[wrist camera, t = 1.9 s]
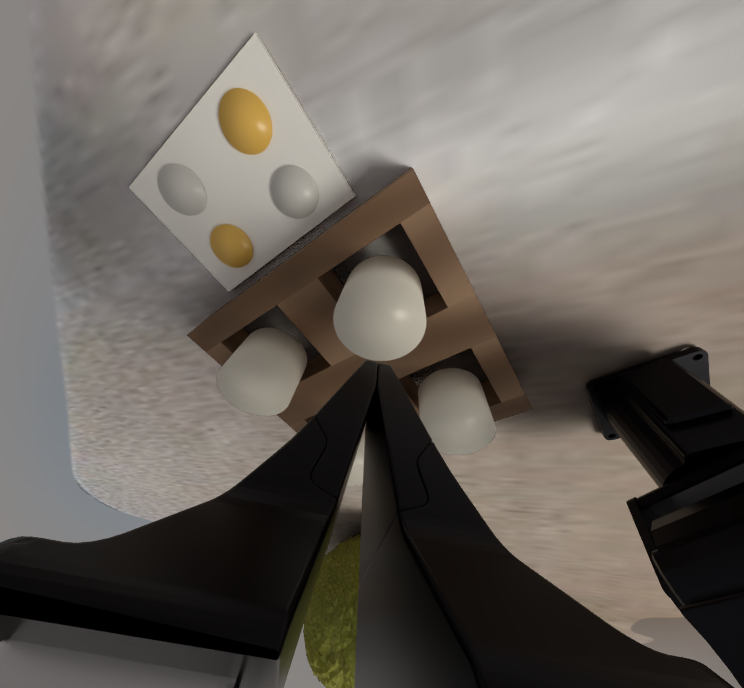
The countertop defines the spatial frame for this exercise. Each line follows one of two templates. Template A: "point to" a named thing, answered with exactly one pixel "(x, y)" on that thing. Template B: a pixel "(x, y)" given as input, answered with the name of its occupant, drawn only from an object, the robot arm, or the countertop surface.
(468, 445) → the pale grey egg
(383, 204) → the board
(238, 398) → the button
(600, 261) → the countertop surface
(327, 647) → the fruit
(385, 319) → the white egg
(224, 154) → the card
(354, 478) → the button
